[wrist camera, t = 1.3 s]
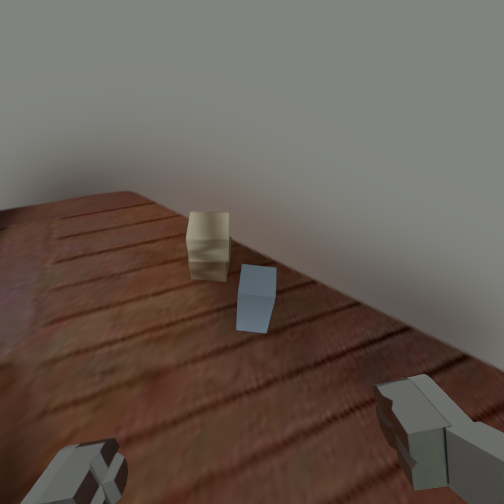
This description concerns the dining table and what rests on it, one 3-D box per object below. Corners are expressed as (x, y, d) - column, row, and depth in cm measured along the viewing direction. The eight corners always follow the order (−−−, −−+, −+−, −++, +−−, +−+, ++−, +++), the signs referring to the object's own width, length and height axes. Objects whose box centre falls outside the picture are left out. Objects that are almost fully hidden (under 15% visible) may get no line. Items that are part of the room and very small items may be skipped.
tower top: (189, 261, 39) (185, 239, 35) (193, 234, 43) (190, 211, 39) (228, 262, 40) (228, 239, 36) (229, 235, 44) (229, 212, 40)
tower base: (191, 278, 43) (187, 259, 39) (199, 252, 47) (196, 233, 43) (226, 282, 43) (225, 264, 39) (231, 256, 47) (231, 237, 43)
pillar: (236, 329, 37) (237, 293, 30) (239, 303, 40) (242, 264, 33) (266, 333, 37) (275, 297, 30) (267, 306, 40) (276, 267, 33)
